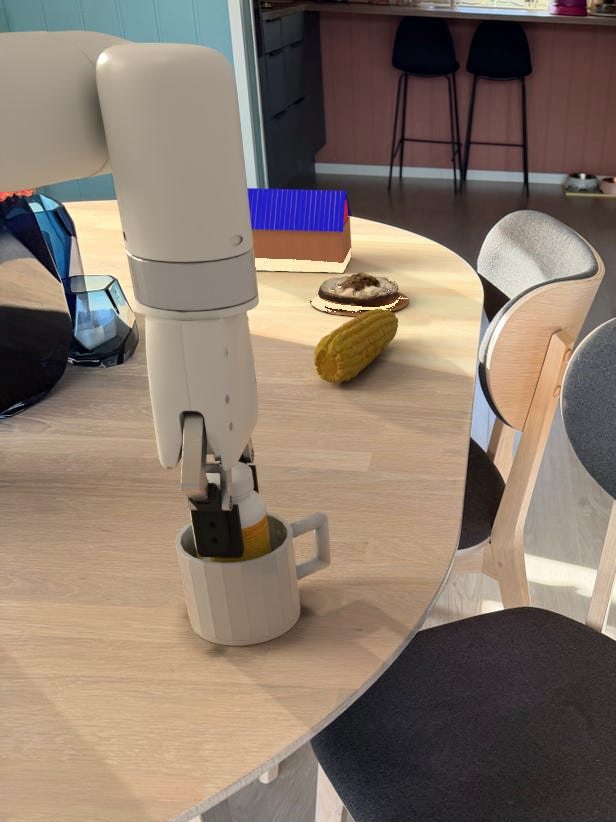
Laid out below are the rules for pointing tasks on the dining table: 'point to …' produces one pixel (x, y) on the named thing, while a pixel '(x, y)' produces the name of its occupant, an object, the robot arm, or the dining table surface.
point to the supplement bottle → (245, 515)
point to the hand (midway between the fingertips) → (230, 531)
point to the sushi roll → (361, 293)
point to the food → (354, 345)
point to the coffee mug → (250, 584)
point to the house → (300, 224)
